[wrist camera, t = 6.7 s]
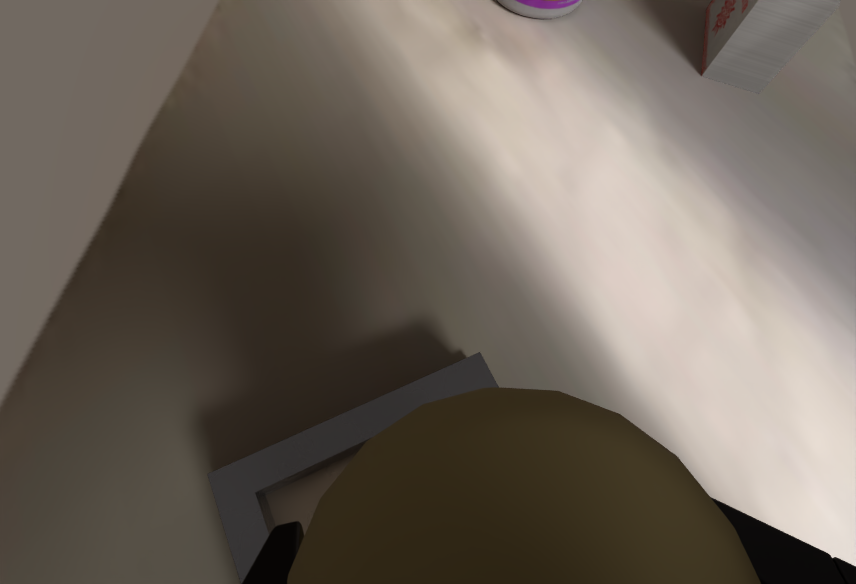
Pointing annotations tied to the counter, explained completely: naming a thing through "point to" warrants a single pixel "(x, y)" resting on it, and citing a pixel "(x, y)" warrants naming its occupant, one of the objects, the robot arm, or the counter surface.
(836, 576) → the robot arm
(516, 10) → the supplement bottle
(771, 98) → the counter surface
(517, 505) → the cork
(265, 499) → the socket block
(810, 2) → the white gabled carton
